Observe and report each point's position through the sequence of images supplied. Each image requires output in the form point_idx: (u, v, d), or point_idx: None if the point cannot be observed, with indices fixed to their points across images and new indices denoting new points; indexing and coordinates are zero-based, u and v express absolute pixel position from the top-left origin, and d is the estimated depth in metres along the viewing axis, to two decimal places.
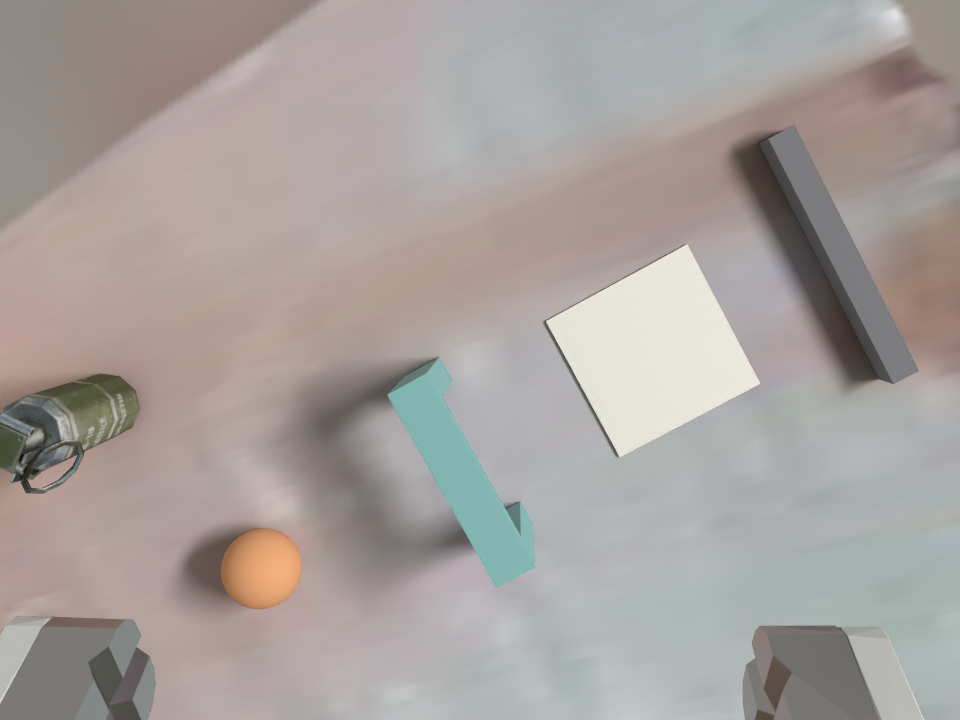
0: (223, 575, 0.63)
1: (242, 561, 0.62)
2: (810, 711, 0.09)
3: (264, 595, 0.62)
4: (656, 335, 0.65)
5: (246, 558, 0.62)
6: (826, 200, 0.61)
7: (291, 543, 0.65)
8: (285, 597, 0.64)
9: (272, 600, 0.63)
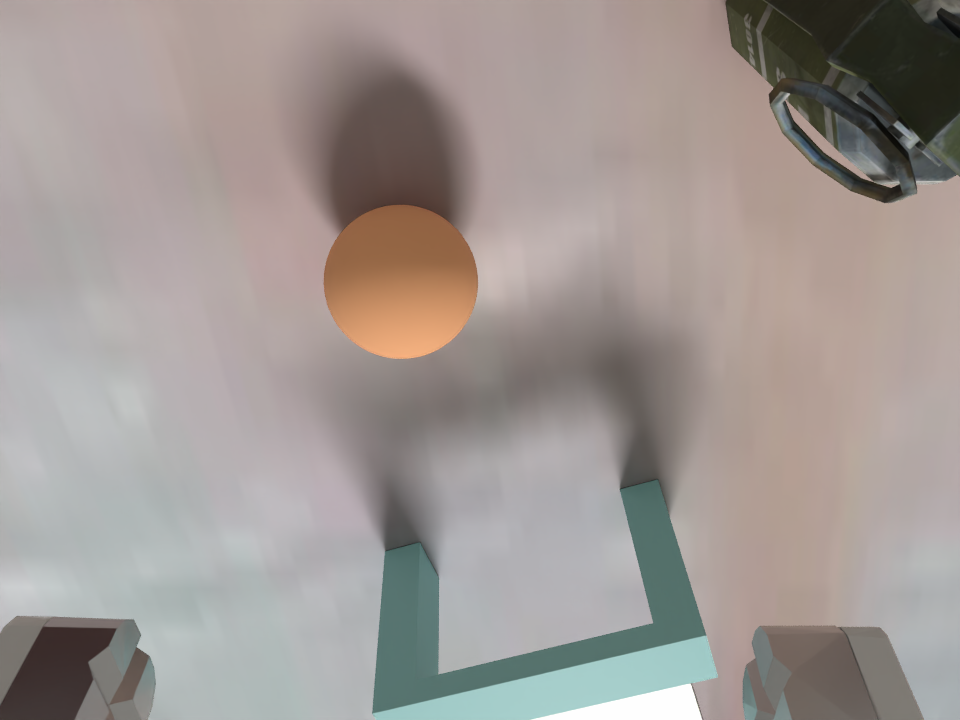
0: (410, 253, 0.31)
1: (441, 306, 0.31)
2: (810, 711, 0.09)
3: (366, 334, 0.32)
4: (617, 711, 0.54)
5: (444, 312, 0.31)
6: None
7: None
8: None
9: (350, 333, 0.32)
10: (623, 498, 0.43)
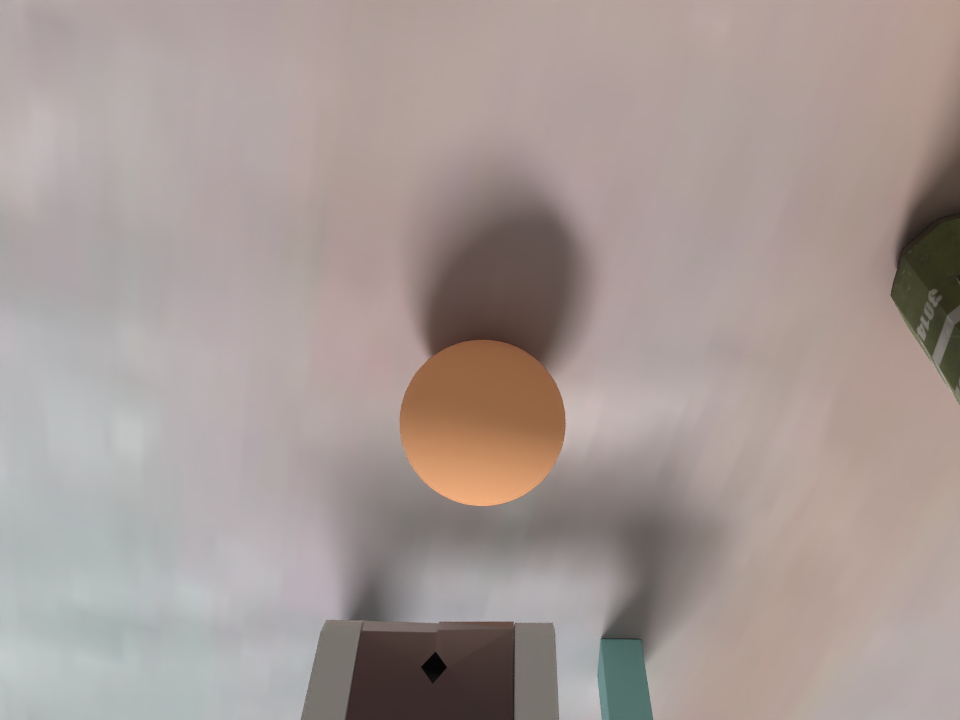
0: (515, 413, 0.28)
1: (528, 473, 0.29)
2: (451, 705, 0.10)
3: (440, 478, 0.29)
4: None
5: (528, 479, 0.29)
6: None
7: None
8: (409, 461, 0.31)
9: (419, 468, 0.29)
10: (603, 651, 0.42)
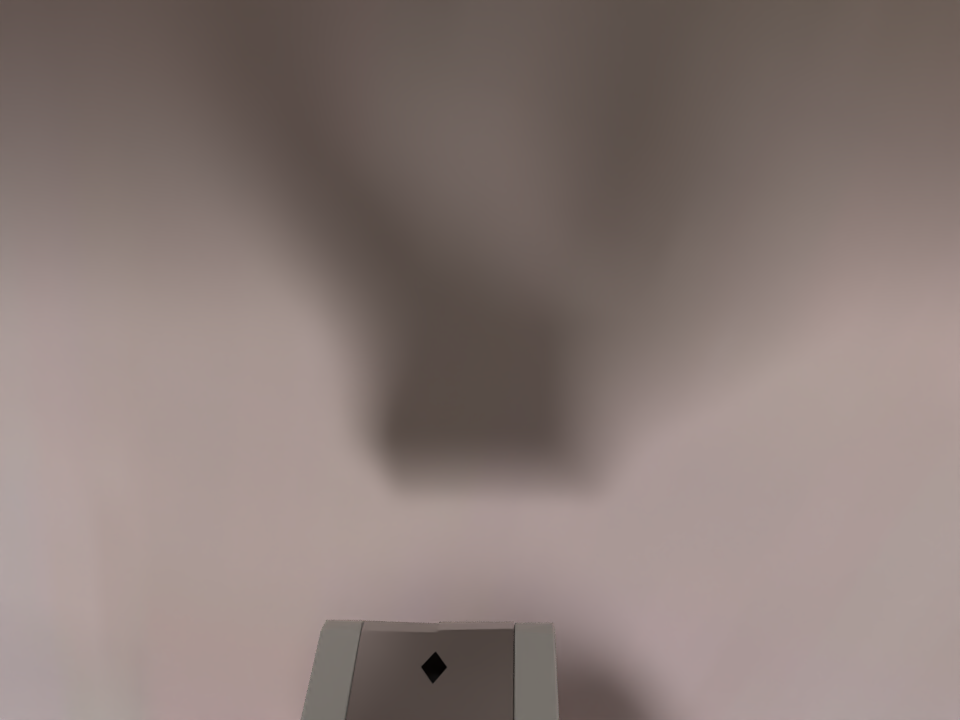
0: None
1: None
2: (451, 705, 0.10)
3: None
4: None
5: None
6: None
7: None
8: None
9: None
10: None
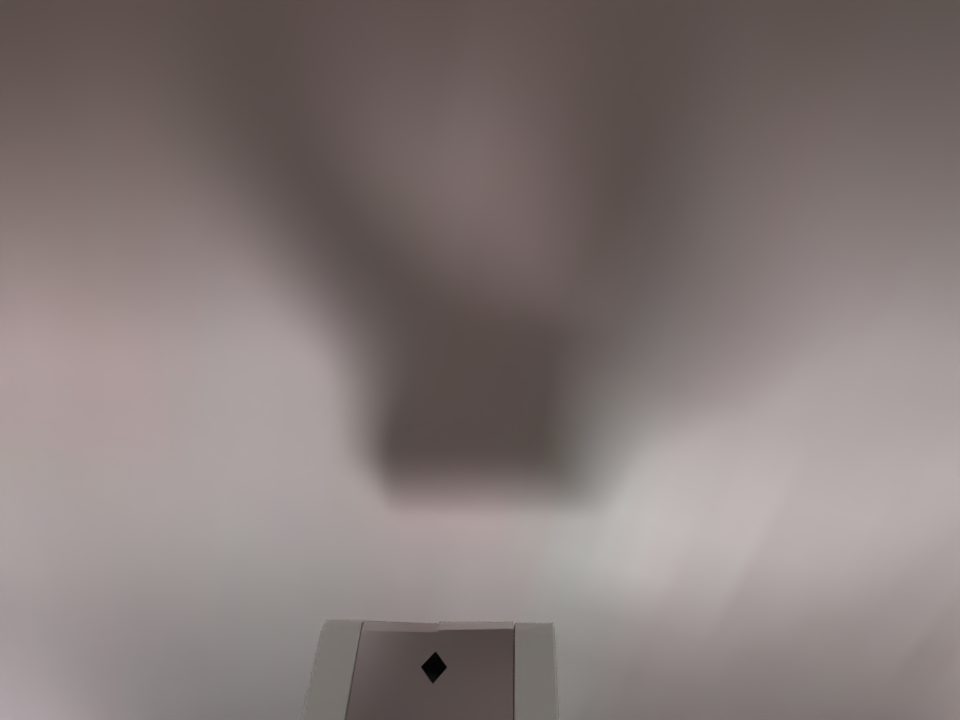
0: None
1: None
2: (451, 705, 0.10)
3: None
4: None
5: None
6: None
7: None
8: None
9: None
10: None
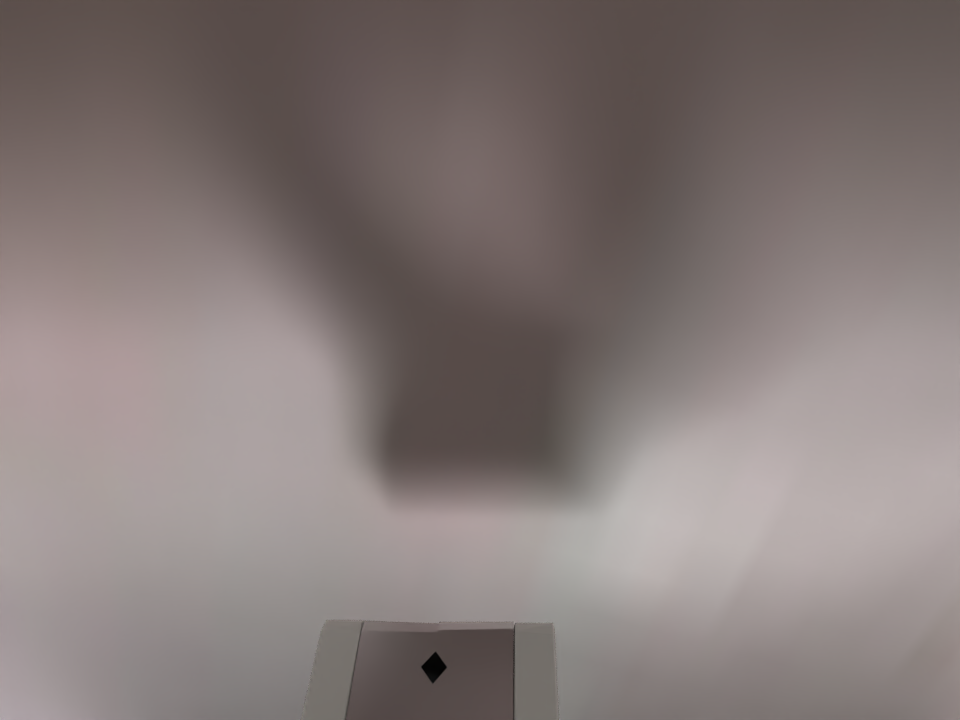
0: None
1: None
2: (451, 705, 0.10)
3: None
4: None
5: None
6: None
7: None
8: None
9: None
10: None
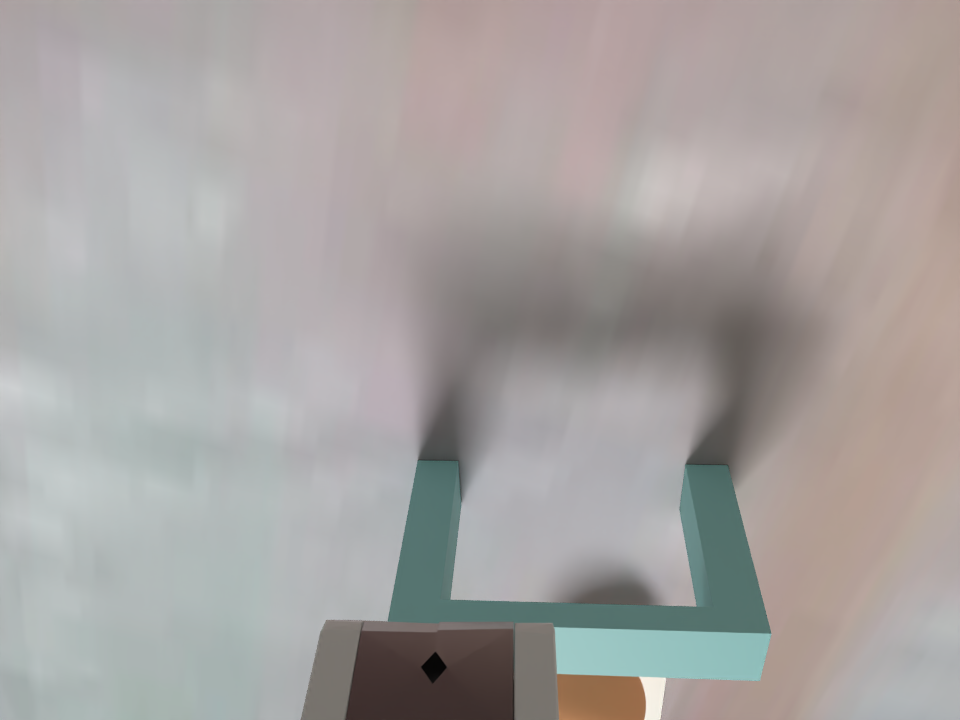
0: None
1: None
2: (451, 705, 0.10)
3: None
4: None
5: None
6: None
7: (600, 718, 0.44)
8: None
9: None
10: (688, 474, 0.40)
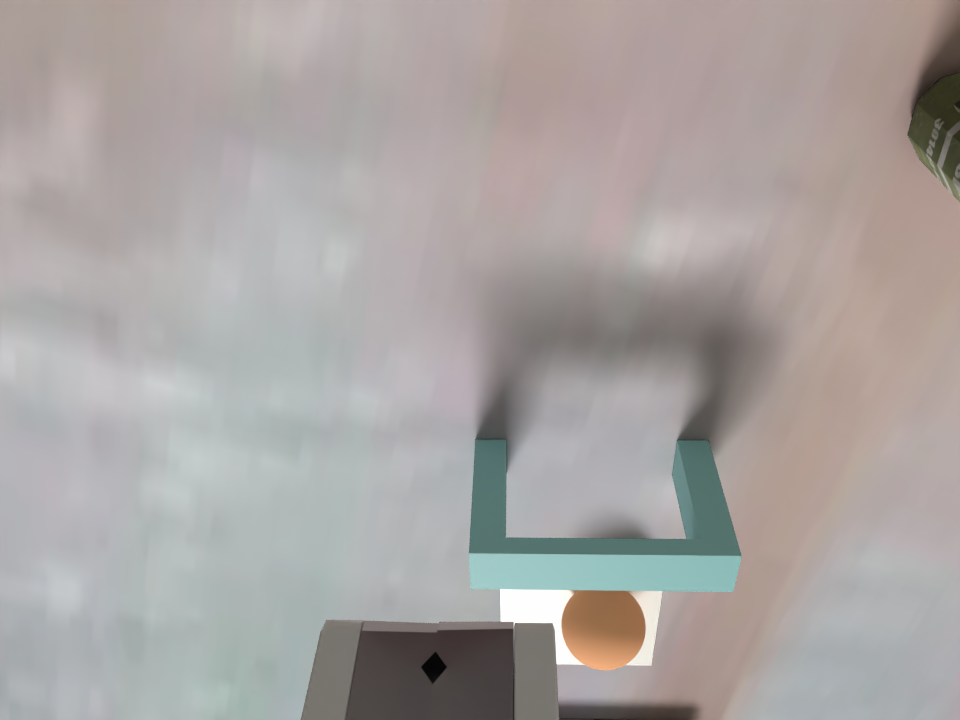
0: None
1: None
2: (451, 705, 0.10)
3: None
4: None
5: None
6: None
7: (612, 635, 0.58)
8: (565, 611, 0.61)
9: (572, 596, 0.61)
10: (679, 447, 0.54)
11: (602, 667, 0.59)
